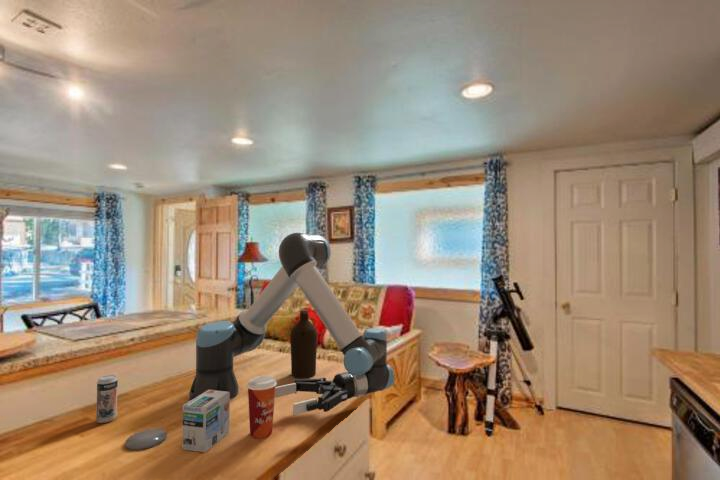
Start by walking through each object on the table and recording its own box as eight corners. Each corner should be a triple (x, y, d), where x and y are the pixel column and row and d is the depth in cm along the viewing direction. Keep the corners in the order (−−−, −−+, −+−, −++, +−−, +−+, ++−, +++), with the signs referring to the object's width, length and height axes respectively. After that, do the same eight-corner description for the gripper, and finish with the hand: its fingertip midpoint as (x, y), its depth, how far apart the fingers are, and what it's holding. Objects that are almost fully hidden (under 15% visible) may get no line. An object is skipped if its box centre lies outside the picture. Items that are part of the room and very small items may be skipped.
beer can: (94, 425, 100) (95, 381, 100) (97, 418, 104) (98, 376, 104) (115, 422, 102) (116, 378, 102) (117, 415, 106) (118, 373, 107)
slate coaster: (116, 449, 88) (116, 445, 88) (142, 431, 97) (142, 427, 97) (150, 451, 87) (150, 448, 87) (174, 433, 96) (174, 429, 96)
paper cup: (260, 443, 91) (261, 386, 91) (239, 435, 95) (240, 381, 95) (282, 430, 97) (283, 377, 98) (262, 423, 101) (263, 372, 102)
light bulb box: (205, 453, 86) (206, 407, 87) (180, 450, 88) (181, 405, 88) (230, 431, 97) (231, 390, 97) (207, 429, 98) (208, 388, 98)
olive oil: (322, 375, 141) (322, 310, 142) (297, 380, 135) (298, 313, 136) (308, 368, 150) (309, 307, 151) (285, 373, 144) (285, 309, 144)
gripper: (373, 412, 101) (303, 433, 89) (329, 384, 121) (267, 399, 109) (373, 384, 101) (303, 402, 89) (329, 362, 121) (267, 373, 110)
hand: (283, 400), depth 99 cm, fingers open, 13 cm apart
